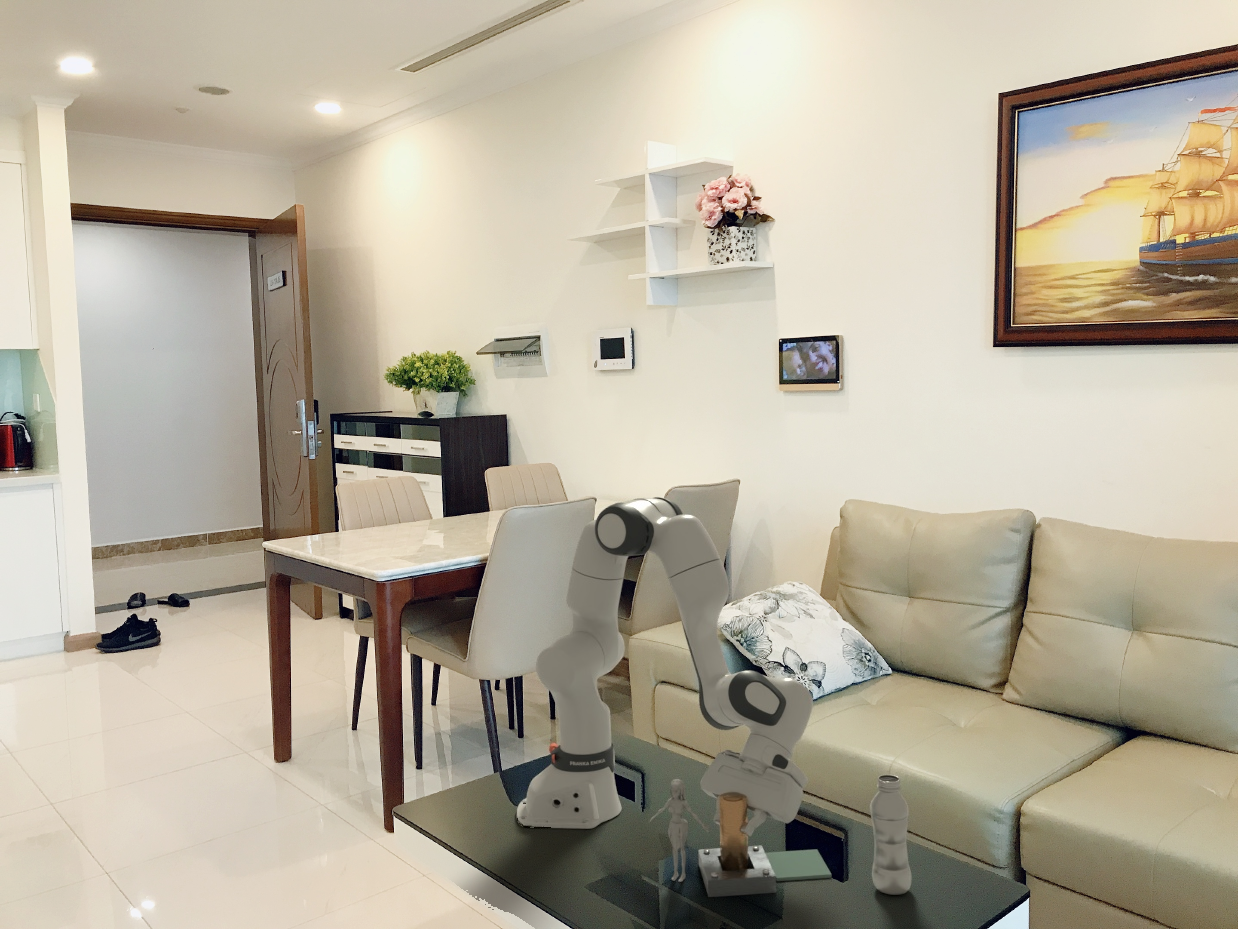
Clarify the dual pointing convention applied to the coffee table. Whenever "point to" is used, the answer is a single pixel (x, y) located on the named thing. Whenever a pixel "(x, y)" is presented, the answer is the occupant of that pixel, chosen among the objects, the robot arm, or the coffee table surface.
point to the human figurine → (678, 823)
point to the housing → (737, 874)
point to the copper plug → (733, 831)
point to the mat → (798, 865)
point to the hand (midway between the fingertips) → (731, 828)
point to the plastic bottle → (890, 837)
